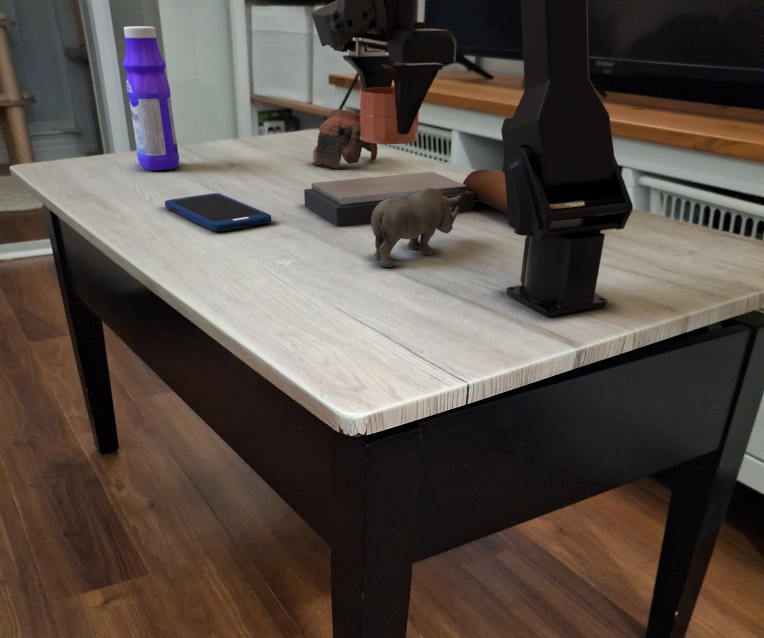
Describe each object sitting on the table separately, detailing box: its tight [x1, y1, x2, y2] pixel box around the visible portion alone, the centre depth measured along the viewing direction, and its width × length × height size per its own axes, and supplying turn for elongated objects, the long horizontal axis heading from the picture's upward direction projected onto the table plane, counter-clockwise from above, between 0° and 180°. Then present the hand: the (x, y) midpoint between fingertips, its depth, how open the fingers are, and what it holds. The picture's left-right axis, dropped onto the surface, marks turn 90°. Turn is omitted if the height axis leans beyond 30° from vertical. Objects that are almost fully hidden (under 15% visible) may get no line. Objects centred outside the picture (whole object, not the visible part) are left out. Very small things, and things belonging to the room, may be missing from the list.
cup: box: [359, 86, 420, 145], centre depth 87 cm, size 7×7×5 cm
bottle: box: [122, 25, 180, 171], centre depth 106 cm, size 7×6×17 cm
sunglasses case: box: [462, 168, 571, 215], centre depth 89 cm, size 18×7×7 cm
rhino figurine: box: [370, 188, 461, 268], centre depth 77 cm, size 4×14×6 cm, turn 139°
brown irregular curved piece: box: [312, 108, 378, 170], centre depth 113 cm, size 12×10×8 cm
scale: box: [303, 171, 475, 227], centre depth 92 cm, size 10×18×3 cm, turn 116°
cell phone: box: [164, 192, 272, 233], centre depth 89 cm, size 7×14×1 cm, turn 37°
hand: (389, 129), depth 88 cm, fingers closed on cup, 6 cm apart
